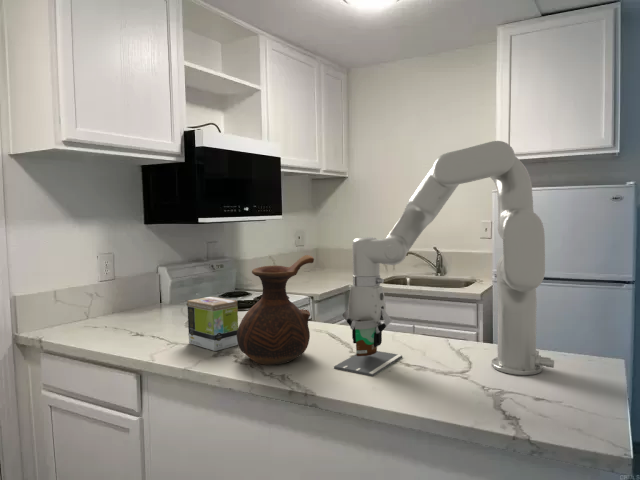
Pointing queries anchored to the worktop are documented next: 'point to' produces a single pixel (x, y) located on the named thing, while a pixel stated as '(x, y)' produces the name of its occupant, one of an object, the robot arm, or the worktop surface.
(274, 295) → the jug
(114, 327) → the worktop surface
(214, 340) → the tea box
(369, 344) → the food container
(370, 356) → the mat
